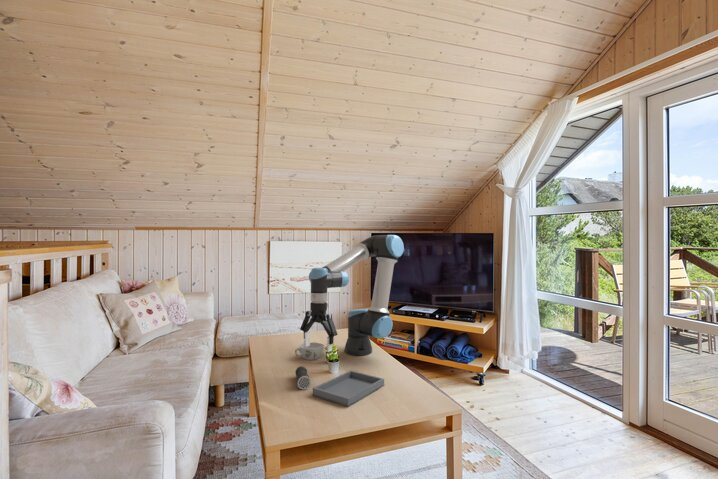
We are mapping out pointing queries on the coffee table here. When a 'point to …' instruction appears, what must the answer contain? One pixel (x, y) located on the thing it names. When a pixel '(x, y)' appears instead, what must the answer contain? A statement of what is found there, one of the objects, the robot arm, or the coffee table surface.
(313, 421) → the coffee table surface
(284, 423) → the coffee table surface
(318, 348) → the teacup
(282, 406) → the coffee table surface
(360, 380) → the box
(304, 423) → the coffee table surface
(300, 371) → the flashlight
